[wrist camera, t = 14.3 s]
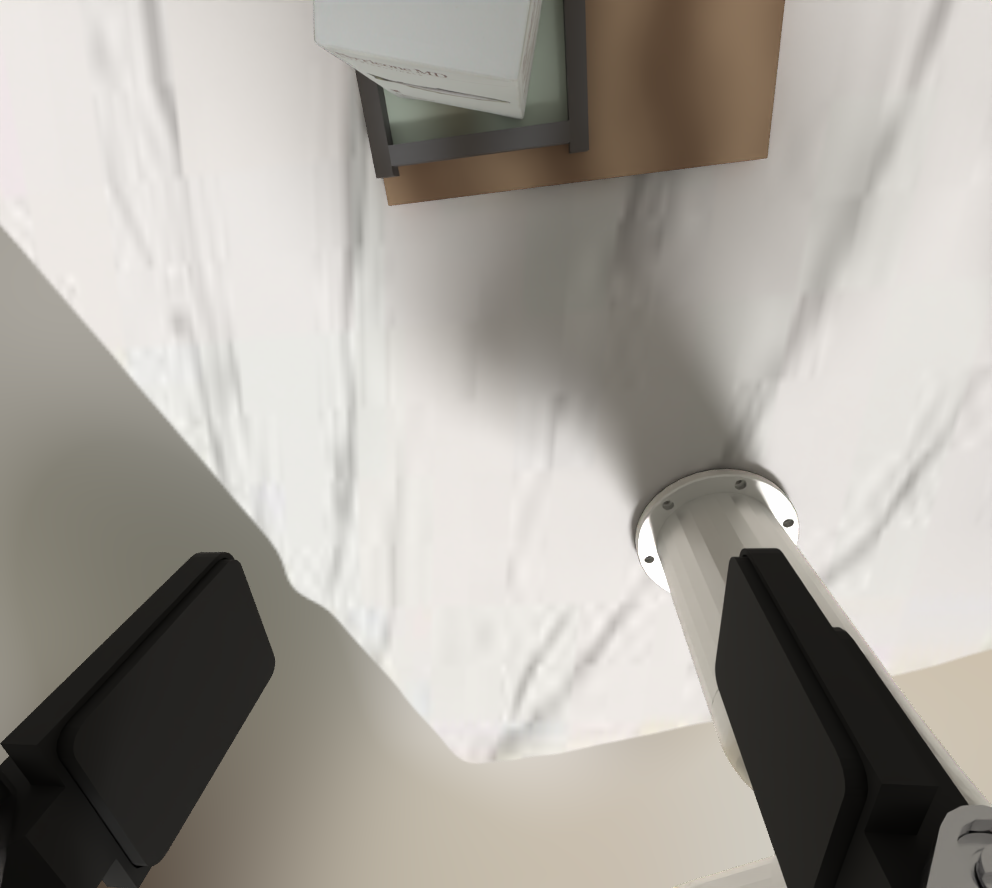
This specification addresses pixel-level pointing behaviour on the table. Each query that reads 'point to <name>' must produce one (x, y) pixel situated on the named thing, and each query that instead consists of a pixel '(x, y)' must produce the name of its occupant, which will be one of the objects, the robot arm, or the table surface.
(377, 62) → the supplement box
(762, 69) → the board
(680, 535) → the robot arm
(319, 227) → the table surface
